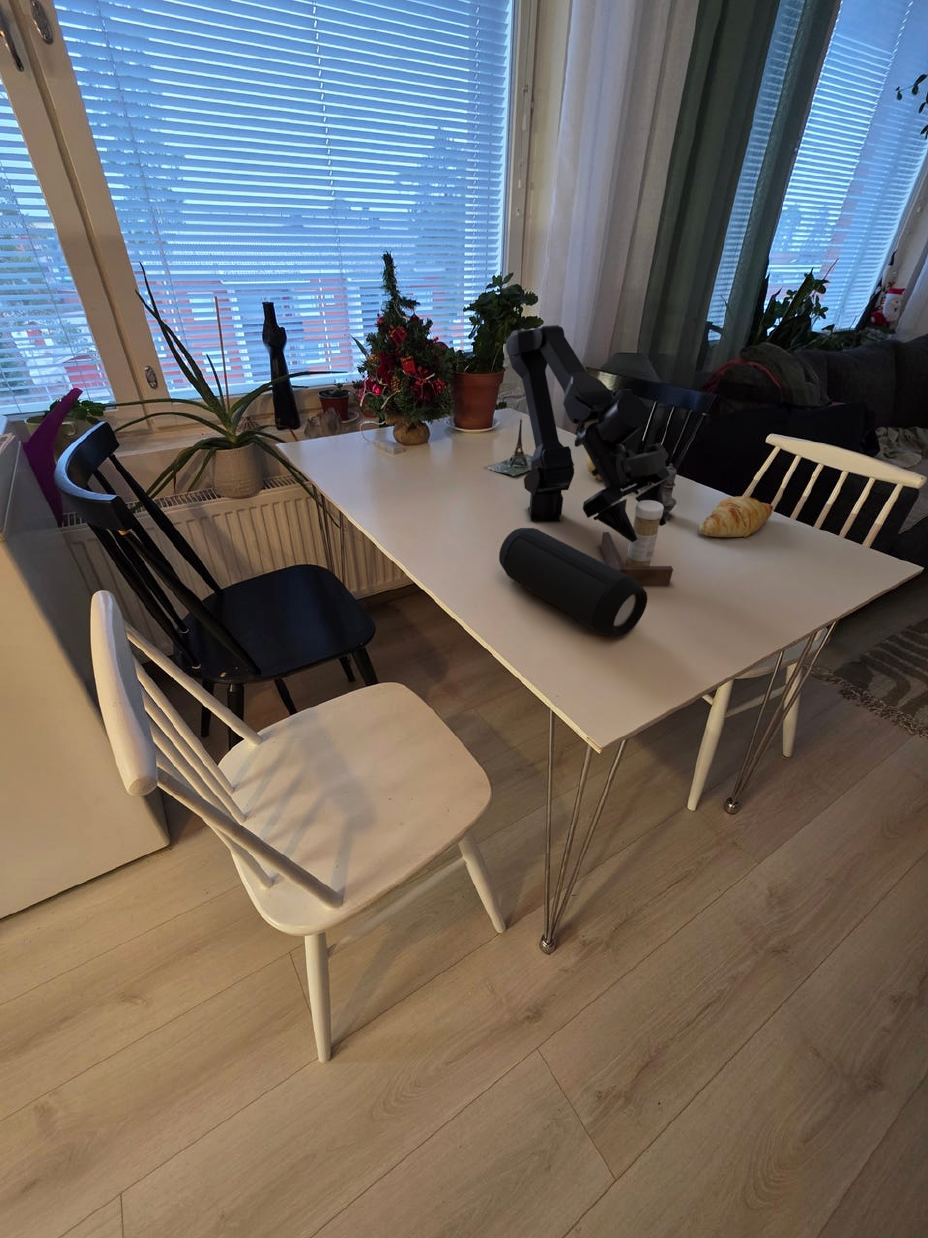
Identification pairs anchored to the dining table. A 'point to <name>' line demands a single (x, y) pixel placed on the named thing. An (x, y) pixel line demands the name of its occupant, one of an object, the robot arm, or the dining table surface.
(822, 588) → the dining table surface
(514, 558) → the portable speaker
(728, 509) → the croissant
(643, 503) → the sprinkles bottle
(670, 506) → the grey stone chess piece
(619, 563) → the corner fence
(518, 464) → the eiffel tower figurine
